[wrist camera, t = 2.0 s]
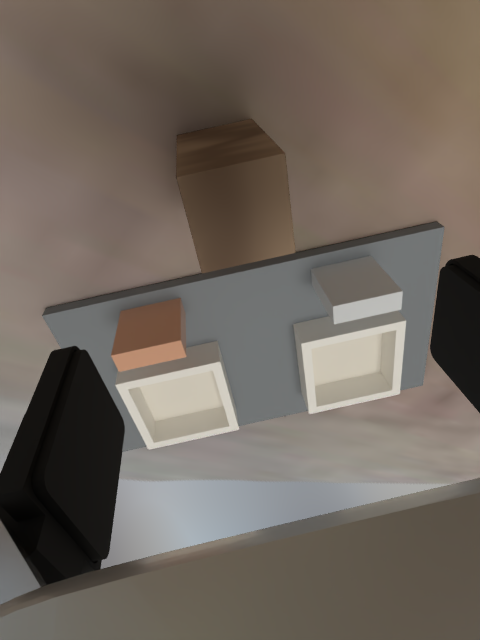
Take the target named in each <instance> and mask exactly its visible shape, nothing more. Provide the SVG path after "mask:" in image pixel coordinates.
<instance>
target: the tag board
mask: <svg viewBox="0 0 480 640" xmlns="http://www.w3.org/2000/svg"><path fill="white" fill-rule="evenodd" d="M443 234H444V226H442V225H441V224H439V223H438V222H433V223H429V224H424V225H420V226H415V227H411V228H406V229H402V230H397V231H392V232H388V233H383V234H379V235H374V236H370V237H365V238H361V239H356V240H352V241H347V242H343V243H338V244H334V245H329V246H325V247H320V248H316V249H311V250H307V251H302V252H297V253H293V254H288V255H284V256H279V257H275V258H270V259H266V260H261V261H257V262H252V263H248V264H243V265H239V266H234V267H230V268H225V269H221V270H216V271H211V272H207V273H202V274H198V275H193V276H189V277H184V278H180V279H175V280H171V281H166V282H162V283H157V284H153V285H148V286H144V287H139V288H135V289H130V290H125V291H121V292H116V293H112V294H107V295H103V296H98V297H94V298H89V299H85V300H80V301H76V302H71V303H67V304H62V305H58V306H53V307H49V308H46V309H45V311H44V313H43V315H42V316H43V318H44V320H45V322H46V323H47V325H48V327H49V328H50V330H51V332H52V334H53V335H54V337H55V339H56V340H57V342H58V344H59V345H60V347H61V349H63V348H67V347H71V346H77V347H78V348H79V349H80V350H83V349H84V350H86V351H87V352H88V353H89V355H90V357H91V359H92V361H93V363H94V365H95V366H96V368H97V370H98V372H99V374H100V376H101V378H102V380H103V382H104V384H105V385H106V387H107V389H108V391H109V393H110V395H111V397H112V399H113V401H114V403H115V404H116V406H117V408H118V410H119V412H120V414H121V416H122V418H123V421H124V425H125V434H124V442H123V449H122V452H124V451H128V450H133V449H137V448H142V447H146V446H147V448H148V450H149V449H154V448H158V447H163V446H167V445H172V444H177V443H181V442H186V441H190V440H195V439H199V438H204V437H208V436H213V435H217V434H222V433H226V432H231V431H235V430H239V426H241V425H246V424H250V423H255V422H259V421H264V420H268V419H273V418H277V417H282V416H286V415H291V414H296V413H300V412H305V411H308V412H309V414H312V413H317V412H321V411H326V410H330V409H335V408H339V407H344V406H348V405H353V404H357V403H362V402H366V401H371V400H375V399H380V398H384V397H389V396H393V395H398V394H400V390H404V389H408V388H413V387H418V386H422V385H423V380H424V373H425V366H426V358H427V351H428V344H429V336H430V329H431V322H432V314H433V307H434V300H435V292H436V285H437V278H438V270H439V263H440V256H441V248H442V241H443ZM367 256H371V257H372V258H373V259H374V260H375V261H376V262H377V263H378V264H379V265H380V267H381V268H382V269H383V270H384V271H385V272H386V273H387V274H388V275H389V276H390V278H391V279H392V280H393V281H394V282H395V283H396V284H397V285H398V286H399V287H400V289H401V290H402V291H403V296H402V308H401V310H397V311H393V312H388V313H384V314H379V315H375V316H370V317H365V318H361V319H356V320H352V321H347V322H343V323H338V324H333V322H332V320H331V318H330V317H329V315H328V313H327V311H326V309H325V307H324V306H323V304H322V302H321V300H320V298H319V297H318V295H317V293H316V291H315V289H314V288H313V286H312V276H311V269H313V268H318V267H322V266H327V265H331V264H336V263H340V262H345V261H349V260H354V259H358V258H363V257H367ZM177 298H181V301H182V304H183V307H184V310H185V314H186V354H187V357H185V358H180V359H176V360H171V361H166V362H162V363H157V364H153V365H148V366H144V367H139V368H135V369H130V370H126V371H121V372H119V371H118V369H117V367H116V365H115V363H114V361H113V359H112V357H111V353H112V349H113V344H114V339H115V335H116V330H117V326H118V321H119V317H120V312H121V311H123V310H127V309H132V308H137V307H141V306H146V305H150V304H155V303H159V302H164V301H168V300H173V299H177Z"/></svg>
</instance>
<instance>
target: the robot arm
mask: <svg viewBox="0 0 480 640" xmlns="http://www.w3.org/2000/svg"><path fill="white" fill-rule="evenodd" d="M430 350H431V354H432V356H433V358H434V360H435V361H436V362H437V363H438V365H439V366H440V367H441V368H442V369H443V370H444V372H445V373H446V374H447V375H448V376H449V377H450V379H451V380H452V381H453V382H454V383H455V384H456V386H457V387H458V388H459V389H460V390H461V392H462V393H463V394H464V395H465V396H466V397H467V399H468V400H469V401H470V402H471V403H472V404H473V406H474V407H475V408H476V409H477V410H478V412H479V413H480V258H478V257H477V256H475V255H469V256H464V257H460V258H456V259H451V260H449V261H448V262H447V263H446V266H445V267H443V268H442V269H441V270H440V275H439V283H438V290H437V298H436V306H435V314H434V321H433V329H432V337H431V344H430ZM124 434H125V425H124V421H123V418H122V416H121V414H120V412H119V410H118V408H117V406H116V404H115V403H114V401H113V399H112V397H111V395H110V393H109V391H108V389H107V387H106V385H105V384H104V382H103V380H102V378H101V376H100V374H99V372H98V370H97V368H96V366H95V365H94V363H93V361H92V359H91V357H90V355H89V353H88V352H87V351H86V350H84V349H83V350H80V349H79V348H78V347H77V346H71V347H67V348H63V349H58V350H54V351H52V352H51V354H50V356H49V358H48V361H47V363H46V366H45V368H44V370H43V373H42V375H41V378H40V380H39V382H38V385H37V387H36V390H35V392H34V395H33V397H32V399H31V402H30V404H29V407H28V409H27V412H26V414H25V415H24V418H23V420H22V422H21V425H20V427H19V430H18V432H17V434H16V437H15V439H14V442H13V444H12V447H11V449H10V451H9V454H8V456H7V459H6V461H5V463H4V466H3V468H2V471H1V473H0V640H480V478H478V479H473V480H469V481H465V482H460V483H456V484H451V485H447V486H443V487H439V488H434V489H430V490H425V491H421V492H417V493H413V494H408V495H404V496H400V497H396V498H391V499H387V500H383V501H379V502H375V503H370V504H366V505H362V506H357V507H353V508H349V509H345V510H340V511H336V512H332V513H328V514H324V515H319V516H315V517H311V518H307V519H302V520H298V521H294V522H290V523H285V524H282V525H277V526H273V527H269V528H265V529H261V530H257V531H253V532H248V533H244V534H240V535H236V536H232V537H228V538H223V539H219V540H215V541H211V542H207V543H203V544H198V545H195V546H190V547H186V548H182V549H178V550H174V551H170V552H165V553H162V554H157V555H154V556H150V557H146V558H142V559H138V560H134V561H130V562H126V563H123V564H119V565H115V566H111V567H107V568H104V569H100V567H101V561H102V560H103V559H106V558H107V556H108V554H109V549H110V541H111V533H112V526H113V518H114V511H115V503H116V495H117V487H118V480H119V472H120V465H121V457H122V449H123V442H124Z"/></svg>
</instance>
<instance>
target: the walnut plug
mask: <svg viewBox="0 0 480 640" xmlns="http://www.w3.org/2000/svg"><path fill="white" fill-rule="evenodd" d="M176 178H177V182H178V186H179V189H180V193H181V197H182V201H183V204H184V208H185V212H186V216H187V219H188V223H189V227H190V230H191V234H192V238H193V242H194V245H195V249H196V253H197V257H198V260H199V264H200V268H201V272H202V273H207V272H211V271H216V270H220V269H225V268H229V267H234V266H238V265H243V264H247V263H252V262H256V261H261V260H266V259H270V258H275V257H279V256H284V255H288V254H293V253H296V252H295V243H294V233H293V223H292V214H291V204H290V194H289V185H288V175H287V165H286V156H285V153H284V151H283V150H282V149H281V148H280V147H279V146H278V145H277V144H276V143H275V142H274V141H273V140H272V139H271V138H270V137H269V136H268V135H267V134H266V133H265V132H264V131H263V130H262V129H261V128H260V127H259V126H258V125H257V124H256V123H255V122H254V121H253V120H252V119H248V120H244V121H239V122H235V123H230V124H226V125H221V126H217V127H212V128H207V129H203V130H198V131H194V132H189V133H185V134H180V135H177V163H176Z"/></svg>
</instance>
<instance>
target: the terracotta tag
mask: <svg viewBox="0 0 480 640" xmlns="http://www.w3.org/2000/svg"><path fill="white" fill-rule="evenodd" d="M111 357H112V359H113V361H114V363H115V365H116V367H117V369H118V371H119V372H121V371H126V370H130V369H135V368H139V367H144V366H148V365H153V364H157V363H162V362H166V361H171V360H176V359H180V358H185V357H187V354H186V314H185V310H184V307H183V304H182V301H181V298H177V299H173V300H168V301H164V302H159V303H155V304H150V305H146V306H141V307H137V308H132V309H127V310H123V311H121V312H120V317H119V321H118V326H117V330H116V335H115V339H114V344H113V349H112V353H111Z"/></svg>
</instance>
